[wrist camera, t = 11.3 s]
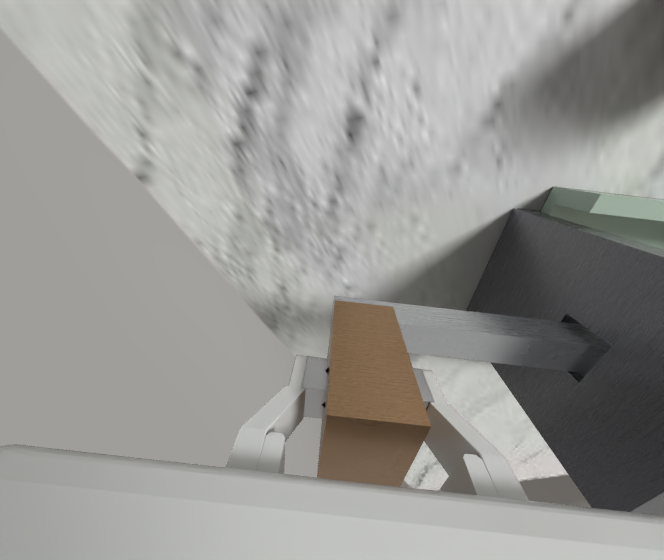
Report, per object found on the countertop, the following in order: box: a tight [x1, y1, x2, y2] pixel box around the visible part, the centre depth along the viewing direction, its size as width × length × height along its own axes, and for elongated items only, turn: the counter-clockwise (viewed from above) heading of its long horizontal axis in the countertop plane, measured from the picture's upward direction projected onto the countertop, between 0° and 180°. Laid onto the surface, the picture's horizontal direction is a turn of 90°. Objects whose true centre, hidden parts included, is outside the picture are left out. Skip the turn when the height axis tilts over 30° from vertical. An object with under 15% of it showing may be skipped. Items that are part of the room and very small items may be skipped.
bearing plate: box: [467, 209, 664, 516], centre depth 16 cm, size 2×12×16 cm, turn 174°
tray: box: [541, 187, 664, 249], centre depth 21 cm, size 14×16×4 cm
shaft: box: [317, 296, 612, 487], centre depth 11 cm, size 26×4×8 cm, turn 84°
